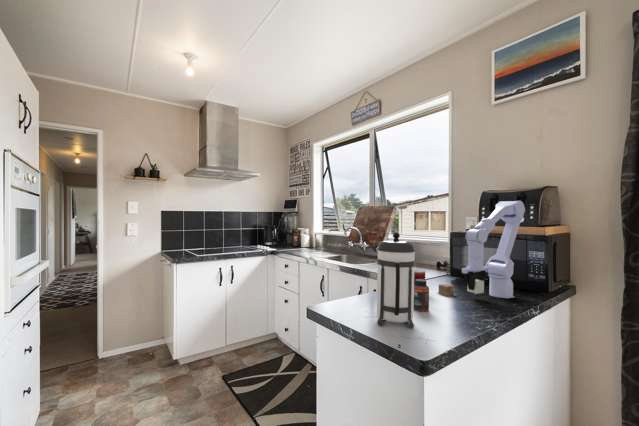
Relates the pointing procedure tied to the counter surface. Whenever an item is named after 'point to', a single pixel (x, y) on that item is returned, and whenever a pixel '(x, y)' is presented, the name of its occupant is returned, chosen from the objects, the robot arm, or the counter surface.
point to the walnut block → (446, 289)
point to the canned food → (419, 274)
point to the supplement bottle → (421, 295)
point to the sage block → (477, 287)
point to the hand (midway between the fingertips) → (475, 288)
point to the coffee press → (395, 281)
